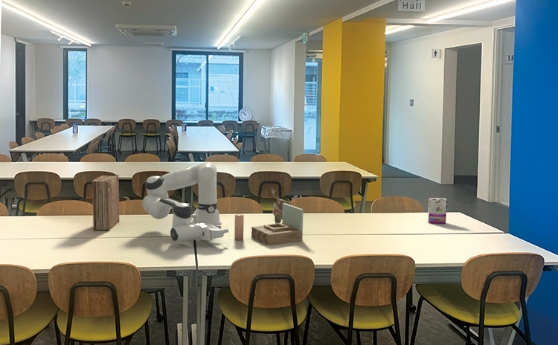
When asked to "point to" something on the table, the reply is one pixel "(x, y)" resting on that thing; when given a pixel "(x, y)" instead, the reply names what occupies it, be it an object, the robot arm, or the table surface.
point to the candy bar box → (437, 210)
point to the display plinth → (282, 228)
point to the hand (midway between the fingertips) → (224, 228)
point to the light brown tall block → (239, 227)
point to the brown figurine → (278, 208)
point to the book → (105, 202)
